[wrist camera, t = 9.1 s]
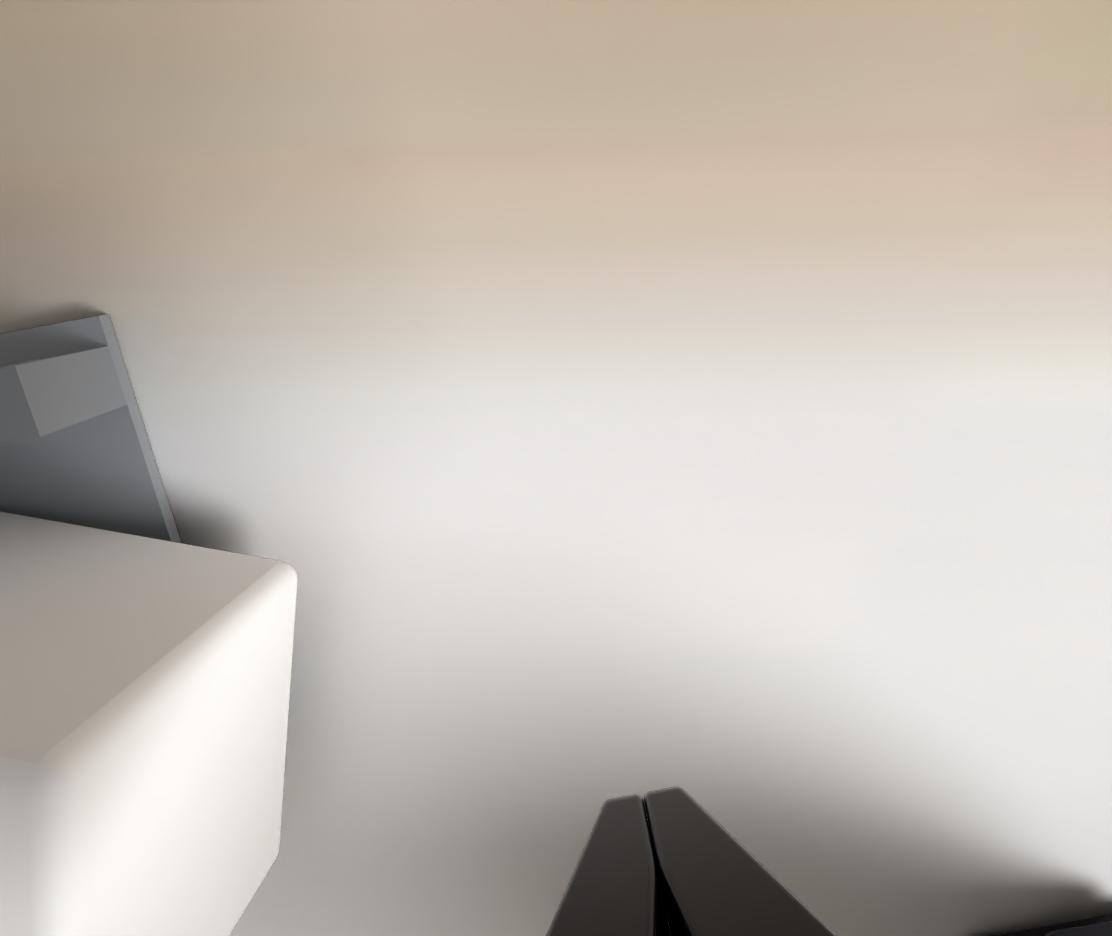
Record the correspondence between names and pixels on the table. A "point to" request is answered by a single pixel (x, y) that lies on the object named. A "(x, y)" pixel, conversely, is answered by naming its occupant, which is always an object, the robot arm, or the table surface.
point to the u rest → (76, 433)
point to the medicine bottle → (138, 730)
